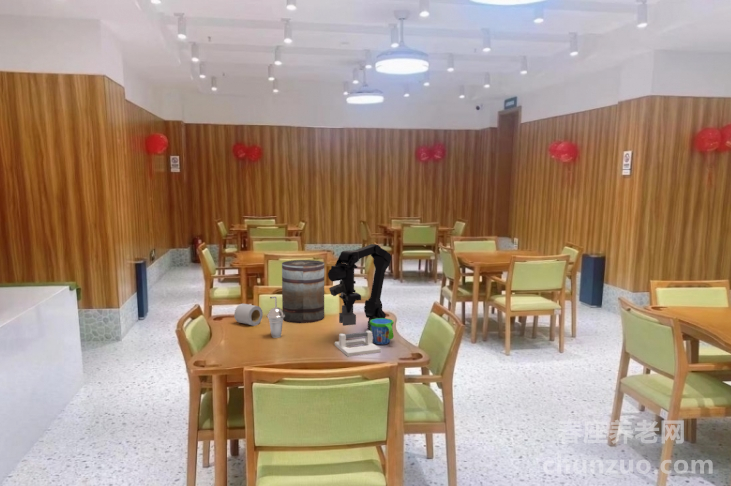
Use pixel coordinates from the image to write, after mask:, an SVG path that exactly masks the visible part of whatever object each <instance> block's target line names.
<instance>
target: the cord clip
mask: <svg viewBox="0 0 731 486" xmlns="http://www.w3.org/2000/svg"><path fill="white" fill-rule="evenodd" d="M338 314H339V315H338V321H339V323H338V324H342V326H343V327H344V326H355V325H356V324H357V321H356V320H357V314H355V313H354V305H353V306H352V309H351V311H350V312H349V313H348V312H347V308H346V305H344V304H343V305H341V312H339V313H338Z"/></svg>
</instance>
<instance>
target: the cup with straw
mask: <svg viewBox="0 0 731 486" xmlns="http://www.w3.org/2000/svg"><path fill="white" fill-rule="evenodd" d="M269 298H270V299H274V307H273V308H271V309H270V310H269V311H268V313H267V316H266V317H267V318H268V322H269V327H270V334H271V338H273V339H275V338H276V339H279V338H281V337H282V331H283V330H282V329H283V323H284V320H283V318H284V317H285V314H284V313H283V311H282V308H280V307H277V303H278V301H277V296H269Z"/></svg>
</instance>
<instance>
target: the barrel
mask: <svg viewBox="0 0 731 486" xmlns="http://www.w3.org/2000/svg"><path fill="white" fill-rule="evenodd" d="M281 291H282V292H281V294H282V295H281V296H282V298H281V299H282V300H281V304H282V305H281V306H282V307H281V310H282V311H283V313H284V314H285V317H284V318H283V322H284V321H285V322H287V323H292V324H312V323H317V322H321V321H323V320H324V319H325V262H324V261H320V260H315V259H314V260H311V259H298V260H297V259H296V260H287V261H283V262H281Z"/></svg>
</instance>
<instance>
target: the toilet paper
mask: <svg viewBox="0 0 731 486" xmlns="http://www.w3.org/2000/svg"><path fill="white" fill-rule="evenodd" d="M233 316H234V317H233V318H234V320H235V321H236V323H239V324H245V325H248V326H253V327H254V326H258V325H259V324H260V323H261V321H262V319H263V310H262V307H260V306H259V305H254V304H253V305H252V304H248V303H240V304H238V305H237V306H236V308H235V310H234V314H233Z"/></svg>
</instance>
